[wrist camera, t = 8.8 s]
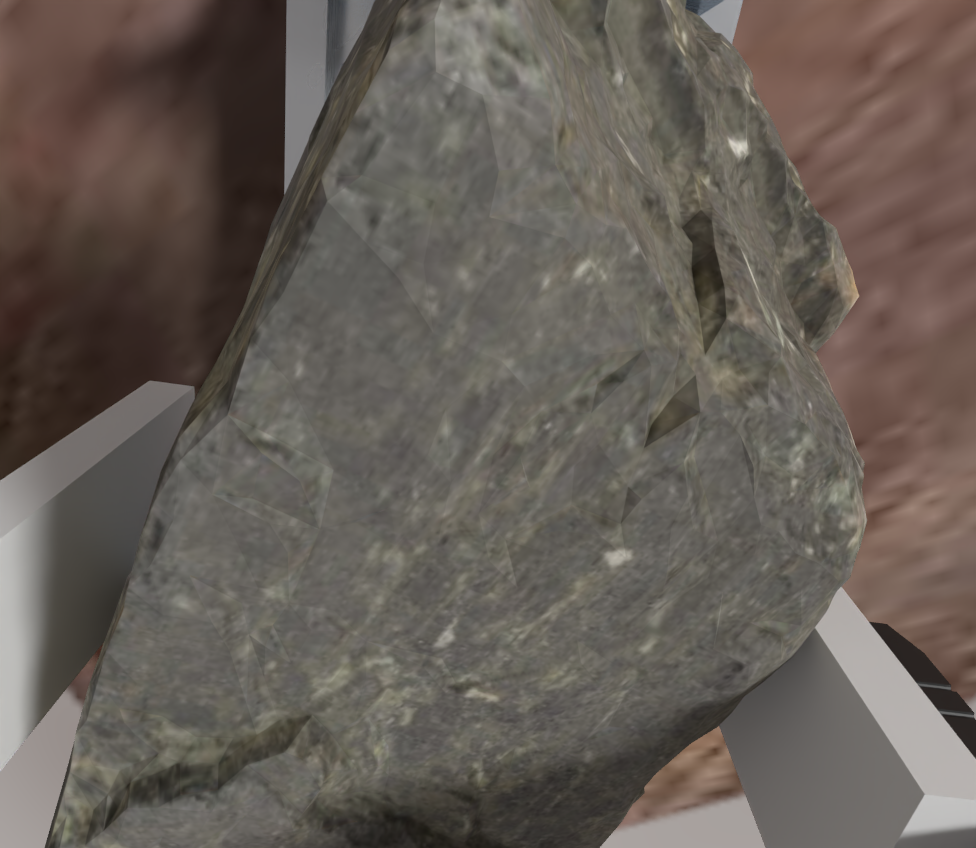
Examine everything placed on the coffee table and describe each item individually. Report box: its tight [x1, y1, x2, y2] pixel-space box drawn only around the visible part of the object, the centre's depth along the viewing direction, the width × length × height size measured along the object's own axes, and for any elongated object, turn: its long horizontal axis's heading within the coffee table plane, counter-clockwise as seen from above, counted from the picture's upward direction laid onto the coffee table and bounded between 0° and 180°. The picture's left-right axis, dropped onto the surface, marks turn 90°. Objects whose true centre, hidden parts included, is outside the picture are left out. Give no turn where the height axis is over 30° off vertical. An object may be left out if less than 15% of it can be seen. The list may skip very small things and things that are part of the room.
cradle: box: [284, 0, 743, 195], centre depth 19 cm, size 20×11×7 cm, turn 172°
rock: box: [45, 0, 867, 848], centre depth 9 cm, size 17×7×10 cm
